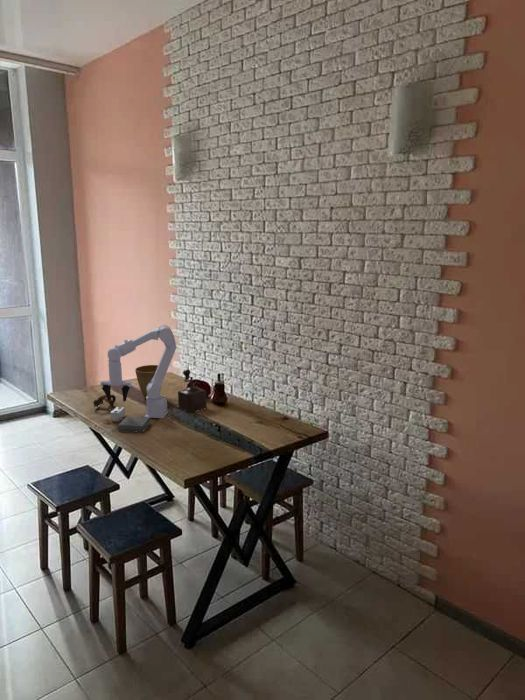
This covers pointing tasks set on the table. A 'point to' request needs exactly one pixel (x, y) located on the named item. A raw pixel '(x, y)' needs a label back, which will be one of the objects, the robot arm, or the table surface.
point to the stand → (134, 424)
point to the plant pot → (145, 376)
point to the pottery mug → (100, 400)
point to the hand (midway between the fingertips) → (117, 400)
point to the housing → (117, 413)
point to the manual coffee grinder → (191, 396)
